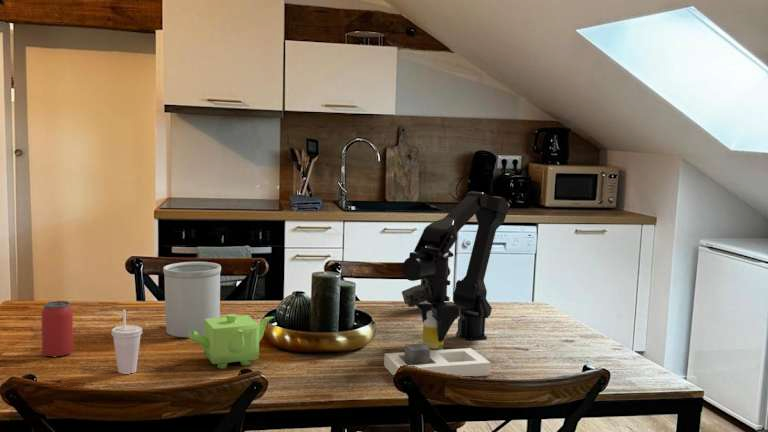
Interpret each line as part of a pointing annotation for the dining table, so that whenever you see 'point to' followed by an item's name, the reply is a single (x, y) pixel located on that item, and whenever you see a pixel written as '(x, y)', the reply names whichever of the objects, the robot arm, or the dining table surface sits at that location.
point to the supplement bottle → (431, 333)
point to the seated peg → (416, 354)
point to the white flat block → (445, 362)
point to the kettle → (231, 339)
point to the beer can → (57, 328)
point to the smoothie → (126, 346)
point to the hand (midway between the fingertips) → (433, 335)
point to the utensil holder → (191, 296)
